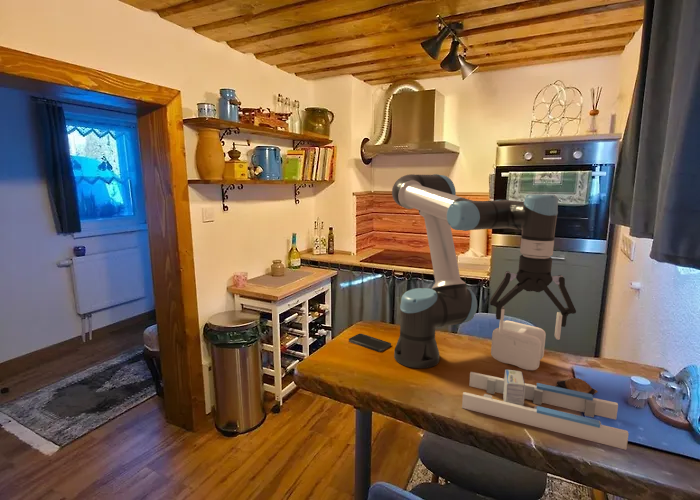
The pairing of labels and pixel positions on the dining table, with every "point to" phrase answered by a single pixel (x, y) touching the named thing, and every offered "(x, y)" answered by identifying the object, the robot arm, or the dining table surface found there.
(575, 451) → the dining table surface
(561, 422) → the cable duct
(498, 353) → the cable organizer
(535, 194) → the robot arm
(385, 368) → the dining table surface
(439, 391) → the dining table surface
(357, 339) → the phone
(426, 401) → the dining table surface
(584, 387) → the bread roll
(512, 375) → the medicine box
